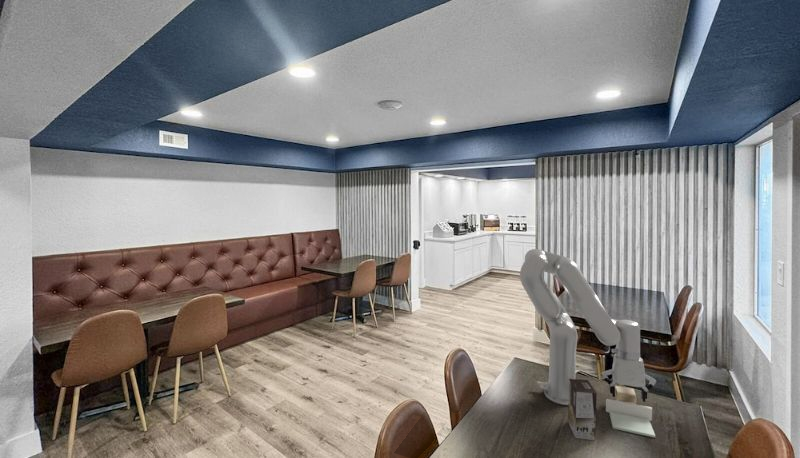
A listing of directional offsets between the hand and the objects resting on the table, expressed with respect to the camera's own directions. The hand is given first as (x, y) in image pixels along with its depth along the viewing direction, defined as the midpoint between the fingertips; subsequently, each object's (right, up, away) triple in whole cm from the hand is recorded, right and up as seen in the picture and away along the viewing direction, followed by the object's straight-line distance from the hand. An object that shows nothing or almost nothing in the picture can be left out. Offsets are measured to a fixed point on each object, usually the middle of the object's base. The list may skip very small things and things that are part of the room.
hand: (628, 397), depth 133 cm
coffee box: (-25, -5, -13) cm, 28 cm away
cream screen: (-3, -4, -5) cm, 7 cm away
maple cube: (-1, -4, +1) cm, 4 cm away
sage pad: (-6, -4, -11) cm, 13 cm away
